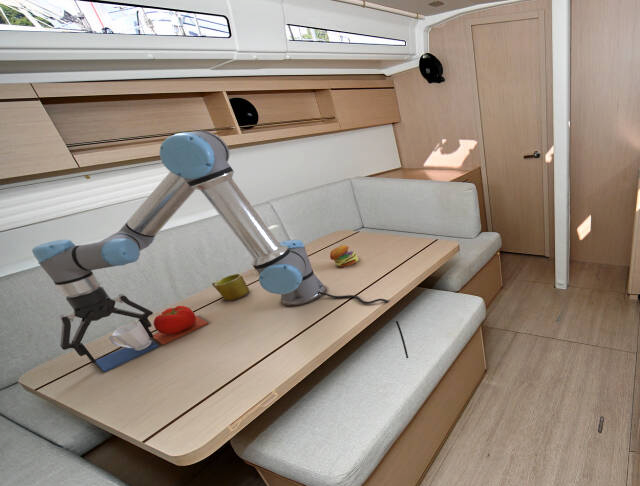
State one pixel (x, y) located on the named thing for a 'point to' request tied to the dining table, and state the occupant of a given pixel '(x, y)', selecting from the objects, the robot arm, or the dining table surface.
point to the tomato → (174, 320)
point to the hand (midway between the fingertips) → (123, 348)
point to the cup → (131, 336)
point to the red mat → (169, 337)
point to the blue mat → (122, 356)
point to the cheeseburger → (343, 256)
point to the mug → (231, 287)
